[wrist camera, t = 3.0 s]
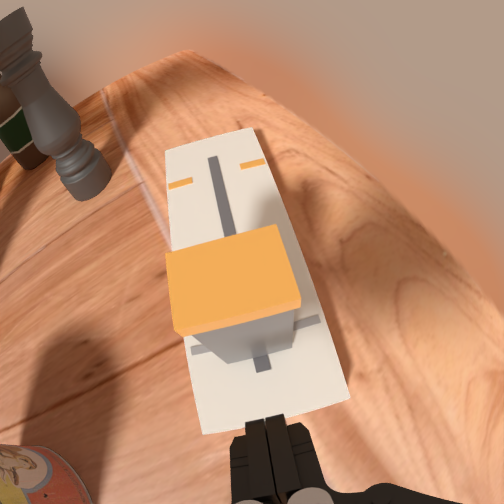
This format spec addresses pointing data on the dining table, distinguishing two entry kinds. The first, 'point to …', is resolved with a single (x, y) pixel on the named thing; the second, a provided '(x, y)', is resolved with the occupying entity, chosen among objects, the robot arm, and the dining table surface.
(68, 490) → the canned food
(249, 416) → the fader console
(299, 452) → the robot arm
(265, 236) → the fader knob
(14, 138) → the beer bottle
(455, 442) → the dining table surface
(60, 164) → the candle holder
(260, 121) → the dining table surface
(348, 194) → the dining table surface
